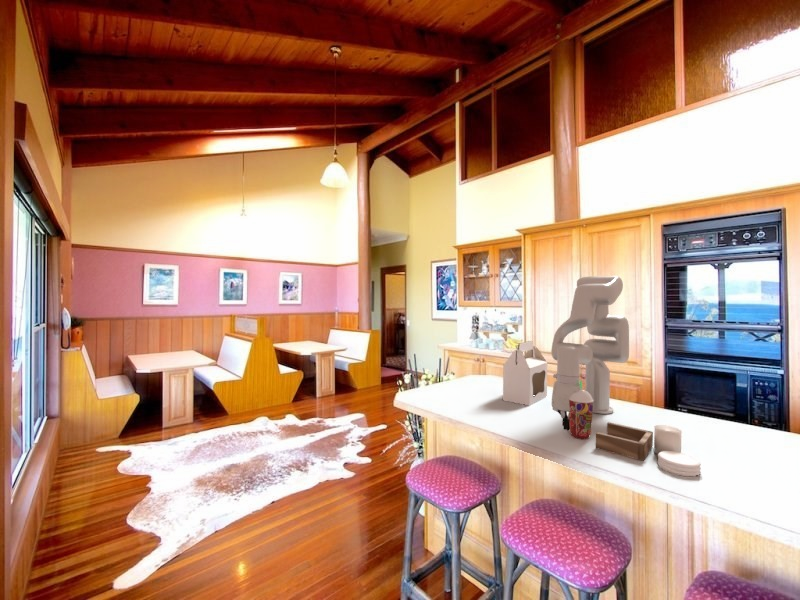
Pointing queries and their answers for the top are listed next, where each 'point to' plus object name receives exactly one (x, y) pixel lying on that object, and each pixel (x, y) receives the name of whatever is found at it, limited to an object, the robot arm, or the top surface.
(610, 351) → the robot arm
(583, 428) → the smoothie
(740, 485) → the top surface
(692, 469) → the coaster
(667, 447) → the beige cylinder
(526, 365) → the gable box
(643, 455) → the u rest
